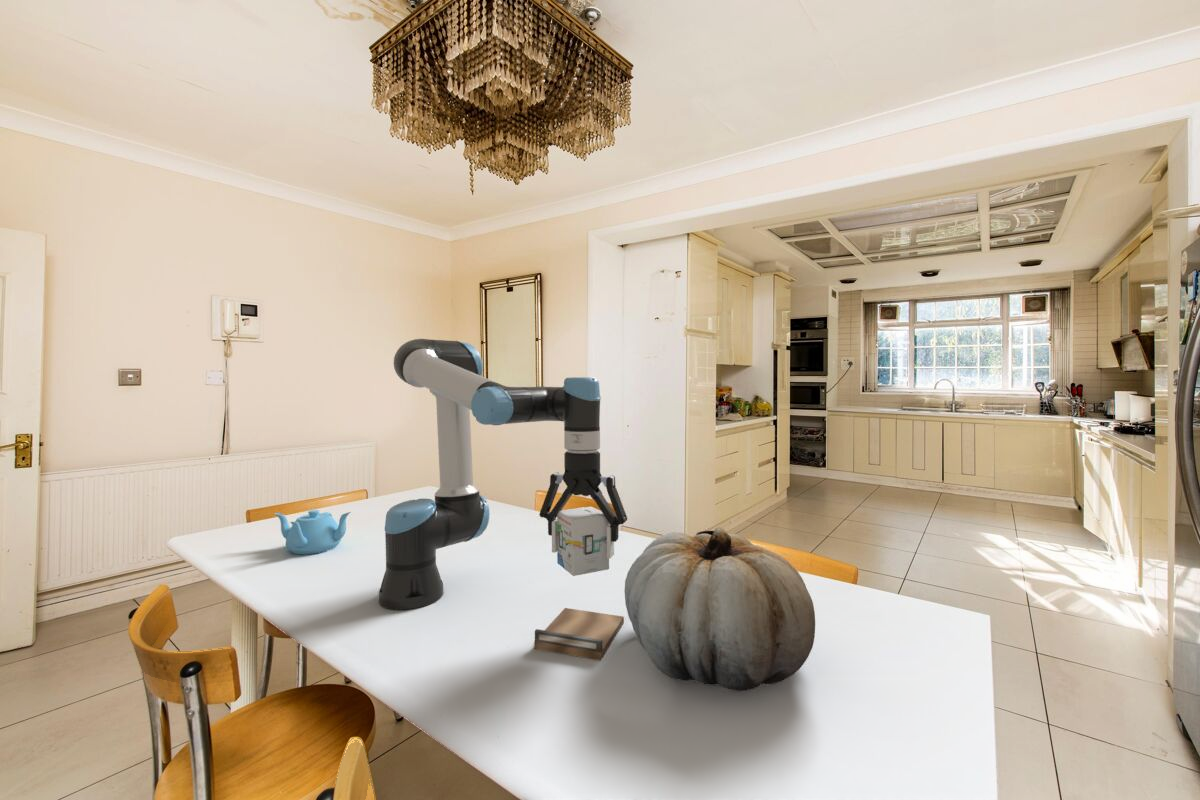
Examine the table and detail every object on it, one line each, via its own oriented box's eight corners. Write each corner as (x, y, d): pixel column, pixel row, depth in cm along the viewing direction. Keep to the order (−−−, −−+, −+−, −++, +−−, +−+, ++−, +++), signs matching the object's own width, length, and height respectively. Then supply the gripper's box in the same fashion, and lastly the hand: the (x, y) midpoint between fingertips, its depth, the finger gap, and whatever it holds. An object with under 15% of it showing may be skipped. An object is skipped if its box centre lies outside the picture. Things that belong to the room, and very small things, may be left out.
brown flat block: (534, 648, 101) (534, 631, 101) (565, 614, 116) (565, 599, 116) (600, 660, 96) (600, 642, 96) (623, 623, 112) (623, 607, 111)
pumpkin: (586, 636, 106) (585, 517, 105) (716, 600, 124) (716, 498, 123) (704, 745, 74) (705, 575, 73) (857, 675, 91) (859, 538, 91)
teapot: (292, 561, 152) (291, 521, 151) (274, 548, 164) (273, 510, 164) (351, 548, 164) (351, 510, 164) (331, 536, 177) (330, 501, 177)
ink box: (556, 563, 109) (556, 509, 108) (591, 557, 112) (591, 505, 112) (572, 576, 101) (572, 518, 101) (610, 569, 105) (609, 513, 105)
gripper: (522, 450, 106) (523, 553, 107) (632, 455, 99) (632, 565, 99) (538, 446, 113) (539, 542, 114) (641, 450, 106) (642, 553, 106)
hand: (582, 553), depth 107 cm, fingers closed on ink box, 11 cm apart
